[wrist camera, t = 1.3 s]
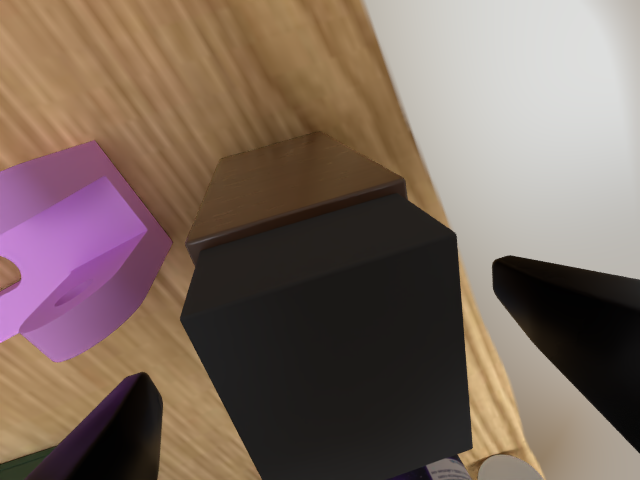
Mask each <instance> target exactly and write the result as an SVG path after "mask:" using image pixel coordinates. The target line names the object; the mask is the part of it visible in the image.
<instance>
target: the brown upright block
mask: <svg viewBox="0 0 640 480" xmlns="http://www.w3.org/2000/svg"><path fill="white" fill-rule="evenodd" d="M394 193H398V194H399V195H401V196H402V197H404V198H405V199H407V200H408V197H407V190H406V183H405V179H404V178H402V177H401V176H399V175H397V174H395V173H394V172H392V171H390V170H388V169H387V168H385V167H383V166H381V165H379V164H378V163H376V162H374V161H372V160H371V159H369V158H367V157H365V156H364V155H362V154H360V153H358V152H356V151H355V150H353V149H351V148H349V147H348V146H346V145H344V144H342V143H341V142H339V141H337V140H335V139H333V138H332V137H330V136H328V135H326V134H325V133H323V132H321V131H319V132H315V133H312V134H308V135H305V136H301V137H297V138H294V139H290V140H287V141H283V142H279V143H276V144H272V145H269V146H265V147H261V148H258V149H254V150H251V151H247V152H243V153H240V154H236V155H233V156H229V157H225V158H222V159H220V160H219V163H218V165H217V167H216V170H215V172H214V175H213V177H212V179H211V182H210V184H209V187H208V189H207V191H206V194H205V196H204V199H203V201H202V203H201V206H200V208H199V211H198V213H197V215H196V218H195V220H194V223H193V225H192V227H191V230H190V232H189V235H188V237H187V239H186V242H185V246H186V248H187V250H188V252H189V254H190V257H191V259H192V261H193V263H194V265H195V267H196V263H197V260H198V257H199V253H200V251H202V250H205V249H208V248H212V247H215V246H218V245H222V244H225V243H228V242H232V241H235V240H239V239H242V238H245V237H249V236H252V235H255V234H259V233H262V232H266V231H269V230H272V229H276V228H279V227H282V226H286V225H289V224H293V223H296V222H299V221H303V220H306V219H310V218H313V217H316V216H320V215H323V214H326V213H330V212H333V211H337V210H340V209H343V208H347V207H350V206H353V205H357V204H360V203H364V202H367V201H370V200H374V199H377V198H380V197H384V196H387V195H391V194H394Z"/></svg>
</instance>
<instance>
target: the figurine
mask: <svg viewBox="0 0 640 480" xmlns="http://www.w3.org/2000/svg"><path fill="white" fill-rule="evenodd" d="M478 480H544V479H543V478H542V477H541V475H540V474H539V473H538V472H537V471H536V470H535V469H534V468H533V467H532V466H530V465H529V464H528V463H526V462H525V461H523V460H521V459H519V458H517V457H514V456H510V455H495V456H492V457H490V458H488V459H487V460H485V461H484V462H483V464H482V465H481V467H480V469H479V473H478Z"/></svg>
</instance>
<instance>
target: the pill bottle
mask: <svg viewBox="0 0 640 480" xmlns="http://www.w3.org/2000/svg"><path fill="white" fill-rule="evenodd" d="M387 480H472V479H471V477H470V476H469V474H468V472H467V470H466V469H465V467H464V465H463V463H462V462H461V460H460V458H459V456H458V455H457V454H456V455H453V456H451V457H448V458H445V459H442V460H440V461H437V462H434V463H431V464H428V465H426V466H423V467H420V468H417V469H414V470H412V471H409V472H406V473H403V474H400V475H398V476H395V477H392V478H389V479H387Z"/></svg>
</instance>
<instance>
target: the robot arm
mask: <svg viewBox="0 0 640 480" xmlns="http://www.w3.org/2000/svg"><path fill="white" fill-rule="evenodd" d="M492 276H493V277H492V278H493V290H494V293H495V295H496V296H497V298H498V299H499V300H500V302H501V303H502V304H503V306H505V308H506V309H507V311H508V312H509V313H510V314H511V316H512V317H513V318H514V319H515V321H516V322H517V323H518V325H519V326H520V327H521V328H522V330H523V331H524V332H525V333H526V335H527V336H528V337H529V338H530V340H531V341H532V342H533V343H534V344H535V345H536V346H537V347H538V349H539V350H540V351H541V352H542V353H543V354H544V355H545V356H546V357H547V358H548V359H549V360H550V361H551V362H552V363H553V364H554V365H555V366H556V367H557V368H558V369H559V370H560V372H561V373H562V374H563V375H564V376H565V377H566V378H567V379H568V380H569V381H570V382H571V383H572V384H573V385H574V386H575V387H576V388H577V389H578V390H579V391H580V392H581V393H582V394H583V395H584V396H585V397H586V398H587V399H588V401H589V402H590V403H591V404H592V405H593V406H594V407H595V408H596V409H597V410H598V411H599V412H600V413H601V414H602V415H603V416H604V417H605V418H606V419H607V420H608V421H609V422H610V423H611V424H612V425H613V426H614V427H615V428H616V430H617V431H619V433H621V435H622V436H623V437H624V438H625V439H626V440H627V441H628V442H629V443H630V444H631V445H632V446H633V447H634V448H635V449H636V450H637V451H638V452H639V453H640V280H638V279H633V278H627V277H623V276H617V275H611V274H606V273H601V272H596V271H590V270H585V269H580V268H575V267H569V266H564V265H559V264H554V263H548V262H543V261H538V260H532V259H527V258H521V257H516V256H511V255H510V256H505V257H502V258H499V259H496V260H495V261H494V262H493V264H492ZM162 414H163V401H162V397H161V395H160V393H159V391H158V390H157V388H156V386H155V385H154V383H153V381H152V380H151V378H150V377H149V375H148V374H147V373H145V372H140V373H137V374H134V375H131V376H128V377H126V378H125V379H124V380H123V381H122V382H121V383H120V384H119V385H118V386H117V387H116V388H115V389H114V390H113V391H112V392H111V393H110V394H109V395H108V396H107V397H106V398H105V399H104V400H103V401H102V402H101V403H100V404H99V405H98V406H97V407H96V408H95V409H94V410H93V411H92V412H91V413H90V414H89V415H88V416H87V417H86V418H85V419H84V420H83V421H82V422H81V423H80V424H79V425H78V426H77V427H76V428H75V429H74V430H73V431H72V432H71V433H70V434H69V435H68V436H67V437H66V438H65V439H64V440H63V441H62V442H61V443H60V444H59V445H58V446H57V447H56V448H55V449H54V450H53V451H52V452H51V453H50V454H49V455H48V456H47V457H46V458H45V459H44V460H43V461H42V462H41V463H40V464H39V465H38V466H37V467H36V468H35V469H34V470H33V471H32V472H31V473H30V474H29V475H28V476H27V477H26V478H25V479H24V480H157V478H158V471H159V460H160V445H161V429H162Z"/></svg>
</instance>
